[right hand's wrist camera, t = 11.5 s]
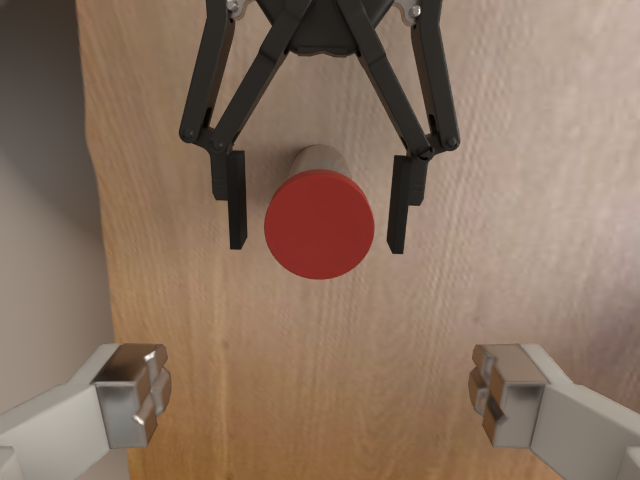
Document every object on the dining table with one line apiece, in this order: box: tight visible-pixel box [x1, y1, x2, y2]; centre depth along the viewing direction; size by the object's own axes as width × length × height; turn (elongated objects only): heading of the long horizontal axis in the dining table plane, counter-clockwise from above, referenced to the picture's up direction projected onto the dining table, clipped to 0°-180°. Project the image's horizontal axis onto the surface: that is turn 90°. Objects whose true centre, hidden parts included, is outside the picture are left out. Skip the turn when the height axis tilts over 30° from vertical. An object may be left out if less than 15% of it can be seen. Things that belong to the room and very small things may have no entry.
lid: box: [264, 169, 374, 279], centre depth 21 cm, size 6×6×2 cm
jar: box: [287, 145, 352, 180], centre depth 28 cm, size 5×5×15 cm
